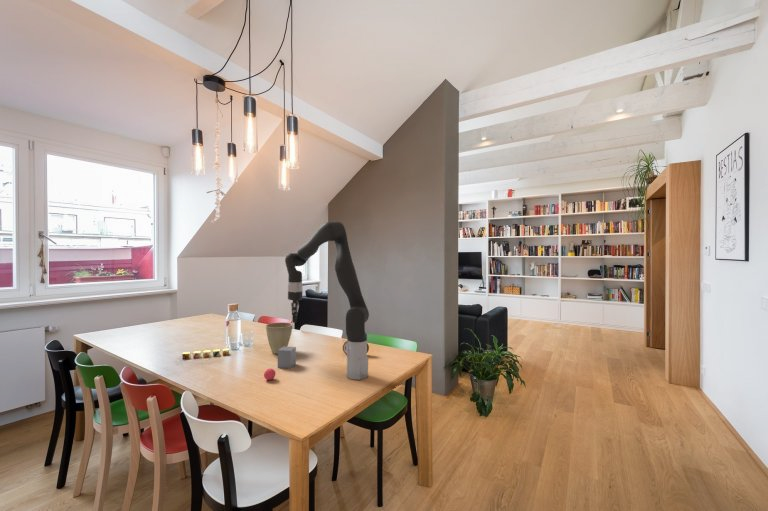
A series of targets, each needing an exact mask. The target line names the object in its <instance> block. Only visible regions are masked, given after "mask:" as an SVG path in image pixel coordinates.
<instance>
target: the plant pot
mask: <svg viewBox="0 0 768 511" xmlns="http://www.w3.org/2000/svg"><path fill="white" fill-rule="evenodd" d="M293 324H294V323H291V322H272V323H271V322H270V323H267V324H265V331H266V337H267V341H268V344H269V347H270V350H271V353H272V354H273V355H278V350H279V349H280V348H282V347H283V346H285V347H289V346H288V345H289V342H290V340H291V336H292V332H293Z"/></svg>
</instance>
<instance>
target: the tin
mask: <svg viewBox="0 0 768 511" xmlns="http://www.w3.org/2000/svg"><path fill="white" fill-rule="evenodd" d="M369 350H370V346H369V343H367V353H369ZM342 351H343V353H344V354H345V355H347V340H345V342H344V343H343V345H342Z"/></svg>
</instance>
